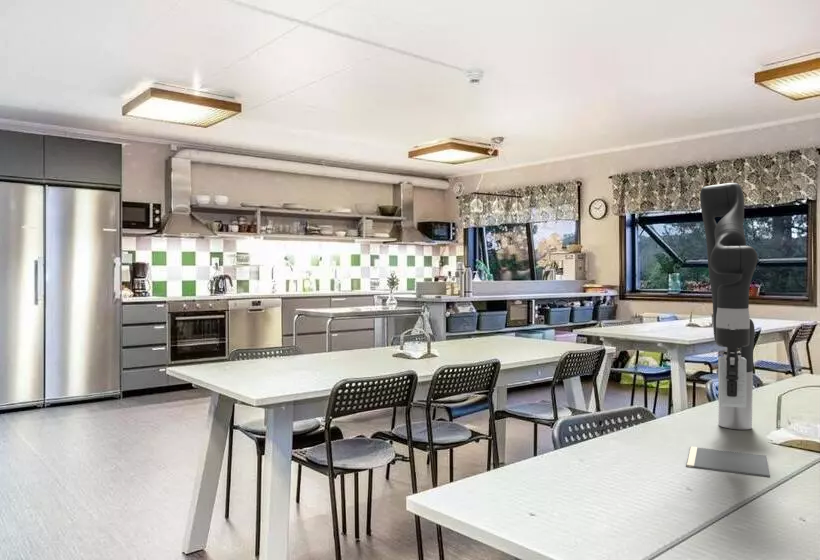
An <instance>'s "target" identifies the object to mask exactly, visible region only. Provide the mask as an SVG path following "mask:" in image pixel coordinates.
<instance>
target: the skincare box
mask: <svg viewBox="0 0 820 560" xmlns="http://www.w3.org/2000/svg"><path fill="white" fill-rule="evenodd" d="M717 359H718V361H717V362H718V365H717V366H718V367H717V369H718V370H717V372H718V373H717V374H718V375H717V376H718V379H717V380H718V383H717V384H718V385H717V387H718V400H717V401H718V405H719V404H720V406H726V407H745V408H746V407H747V392H746V391H747V376H746V375H747V374H746V373H747V372H746V362H747V360H746V359H745V358H744V357H741V360H740V372H738V382H737V396H736V397H730V396H727V379H726V376H727V372H726V371H725V359H724V356H718V357H717ZM729 375H735V376H736V373H735V372H729Z"/></svg>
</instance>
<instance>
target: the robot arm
mask: <svg viewBox="0 0 820 560" xmlns="http://www.w3.org/2000/svg"><path fill="white" fill-rule="evenodd" d="M699 193H700V194H699V200H700V208H701V214H702V215H701V216H702V221H703V222H702V223H703V226H704V234H705V241H706V252H707V265H708V275H709V282H710V283H709V284H710V289H711V291H710V292H711V299H712V300H711V301H712V319H713V320H712V322H713V323H712V325H713V336H714V337H713V338H714V342H715V344H716V345H717V346H718V347H721V348H726V349H727V350H726V351H723V357H724V359H725V371H726V372H727V376H726V379H727V396H730V397H736V396H737V382H738V372H740V360H741V357H744V358H745V359H746V360H747V362H746V372H747V373H746V374H747V375H746V376H747V391H746V392H747V407H746V408H745V407H726V406H720V404H719V403H718V422H717V423H718V424H717V425H718V426H719V427H722V428H726V429H730V430H731V429H732V430H751V429H753V390H754V389H753V385H754V384H753V379H754V378H753V371H754V370H753V369H754V368H753V367H754V366H753V365H754V347H755V345H754V344H755V332H756V331H755V323H754V321H753V320H752V319H751V318H750V310H749V309H750V305H749V304H750V302H749V299H750V287H751V283H752V278H753V276H754V273H755V270H756V267H757V265H758V260H759V259H758V253H757V251H756V249H755V248H754V247H753V246H750V245H747V242H746V235H745V231H744V222H745V221H744V220H745V198H744V192H743V189H742V186H741V185H740V184H739V183H737V182H727V183H719V184H712V185H706V186H703V187H702V188H701V189H700V192H699ZM720 217H721V219H720V220H719V221H718V222H716V219H715V218H720ZM738 349H739V352H738ZM729 372H735V373H736V376H735V375H729Z"/></svg>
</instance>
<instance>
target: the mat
mask: <svg viewBox="0 0 820 560" xmlns="http://www.w3.org/2000/svg"><path fill="white" fill-rule="evenodd" d="M685 467H687V468H694V469H701V468H702V469H701V470H710V471H718V472H726V473H735V474H742V475H750V476H757V477H758V476H760V477H767V478H771V471H770V468H769V463H768V457H767V455H766V454H758V453H748V452H742V451H732V450H725V449H724V450H722V449H713V448H704V447H698V446H689V451H688V455H687V458H686V463H685Z"/></svg>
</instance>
